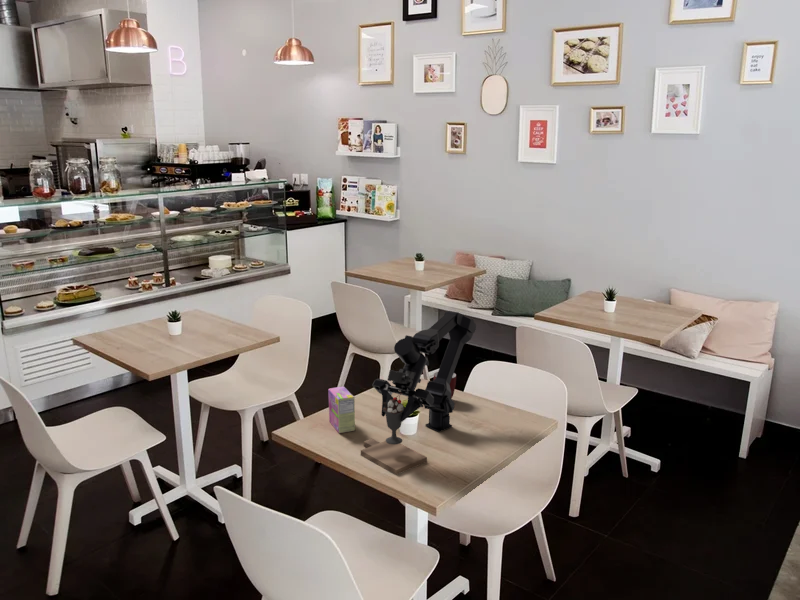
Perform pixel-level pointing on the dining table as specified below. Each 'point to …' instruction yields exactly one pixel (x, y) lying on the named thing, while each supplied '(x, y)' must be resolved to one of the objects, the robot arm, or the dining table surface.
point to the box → (341, 409)
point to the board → (392, 456)
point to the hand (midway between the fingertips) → (391, 418)
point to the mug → (452, 383)
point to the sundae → (394, 418)
